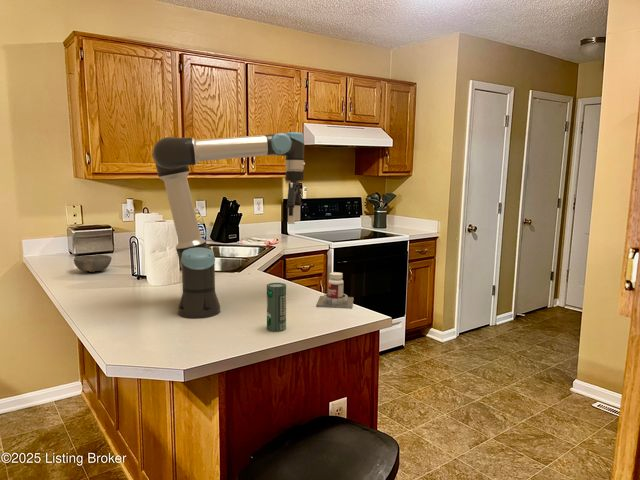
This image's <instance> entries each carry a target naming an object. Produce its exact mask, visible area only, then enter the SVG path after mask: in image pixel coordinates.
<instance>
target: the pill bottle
mask: <svg viewBox="0 0 640 480" xmlns="http://www.w3.org/2000/svg"><path fill="white" fill-rule="evenodd" d="M343 276H344V275H343V272H336V271H334V272H330V273H329V279H328V282H327V283H328V286H327V293H328V297H330V298H343V294H344V280H343V278H344V277H343Z"/></svg>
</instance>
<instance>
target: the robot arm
mask: <svg viewBox="0 0 640 480" xmlns="http://www.w3.org/2000/svg"><path fill="white" fill-rule="evenodd" d="M261 156H262V157H264V156H265V157H266V156H275V157H276V156H278V157H279V156H280V157H281V156H282V157H283V156H285V166H284V167H285V170H286V171H285V181H290V182H288V190H287V201H286V204H285V208H287V225H295V224H296V222H300V221H301V206H303V203H302V196H301V182H299V181H304V179H305V175H304V174H305V172H304V169H305V167H304V166H305V165H306V163H305V160H304V159H305V135H304V133H302V132H297V131H290V132H289V131H287V132H286V133H283V132H277V133H275V134H274V133H273V134H272V133H271V134H260V135H247V136H243V135H242V136H235V137H232V136H230V137H220V138H207V139H206V138H205V139H195V138H194V137H175V136H174V137H173V136H167V137H163V138H160V139H159V140H158V141H157V142H156V143H155V144H154V147H153V150H152V158H153V161H154V164H155V167H156V168H155V169H156V173H157V176H158V178H159V179H160V180H162V181H163V182H164V188H165V192H166V196H167V201H168V203H169V207H170V213H171V216H172V220H173V224H174V228H175V233H176V235H177V241H178V243H177V244H176V246H175V249H176V254H177V257H178V264H179V267H180V270H181V277H182V278H181V279H182V281H181V283H182V294H181V297H180V301H179V304H178V308H177V310H178V313H177V314H178V316H180V317H183V318H190V319H201V318H202V319H203V318H209V317H214V316H216V315H218V314H220V312H221V305H220V301H219V298H218V295H217V293H216V271H215V268H216V267H215V263H216V257H215V253H214V251H213V250H212V249H210V248H208V244H207V240H205V238H203V237H202V235H201V232H200V228H199V223H198V218H197V214H196V211H195V206H194V202H193V197H192V193H191V189H190V186H189V185H190V184H189V181H188V175H189V174H190V172H191V171H190V166H195V165H197V164H198V163H199V162H208V161H219V160H228V159H229V160H230V159H240V158H251V157H261Z"/></svg>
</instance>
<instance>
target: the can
mask: <svg viewBox="0 0 640 480" xmlns="http://www.w3.org/2000/svg"><path fill="white" fill-rule="evenodd" d="M286 329H287V284H286V283H283V282H270V283H268V284H266V330H268V331H269V332H273V333H275V332H277V333H279V332H282V331H285V330H286Z"/></svg>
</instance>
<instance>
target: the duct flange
mask: <svg viewBox="0 0 640 480" xmlns="http://www.w3.org/2000/svg"><path fill="white" fill-rule="evenodd" d="M352 304H354V297H353V296H348V294H346V293H343V298H330V297H328V292H327V293H324V294H323V295H320V296H319V298H318V300H317V302H316V305H315V307H316V308H329V309H330V308H333V309H350V310H351V309H353V305H352Z"/></svg>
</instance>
